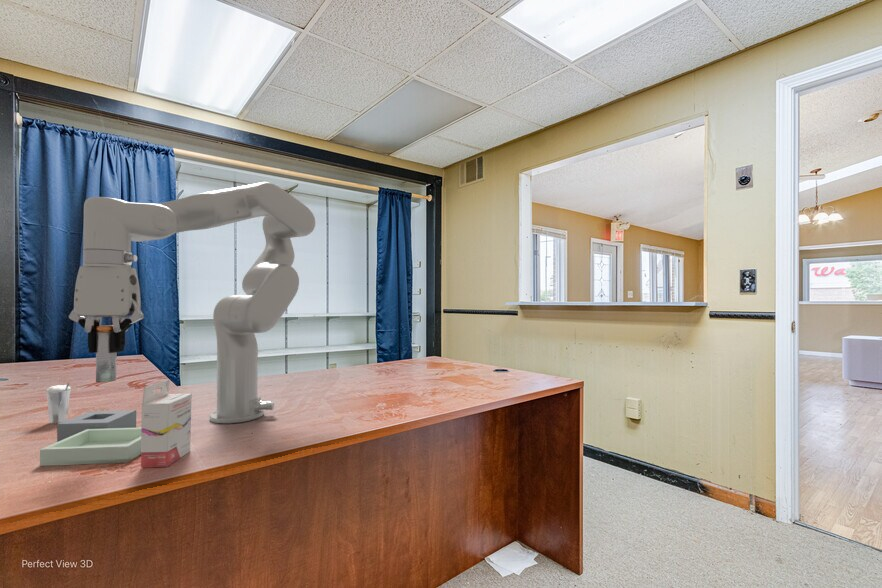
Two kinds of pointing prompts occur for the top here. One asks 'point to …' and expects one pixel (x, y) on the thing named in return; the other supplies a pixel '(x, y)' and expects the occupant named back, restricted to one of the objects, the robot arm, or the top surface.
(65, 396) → the milkshake
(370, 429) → the top surface
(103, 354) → the pin
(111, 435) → the tray
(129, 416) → the socket block
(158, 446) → the ink cartridge box
